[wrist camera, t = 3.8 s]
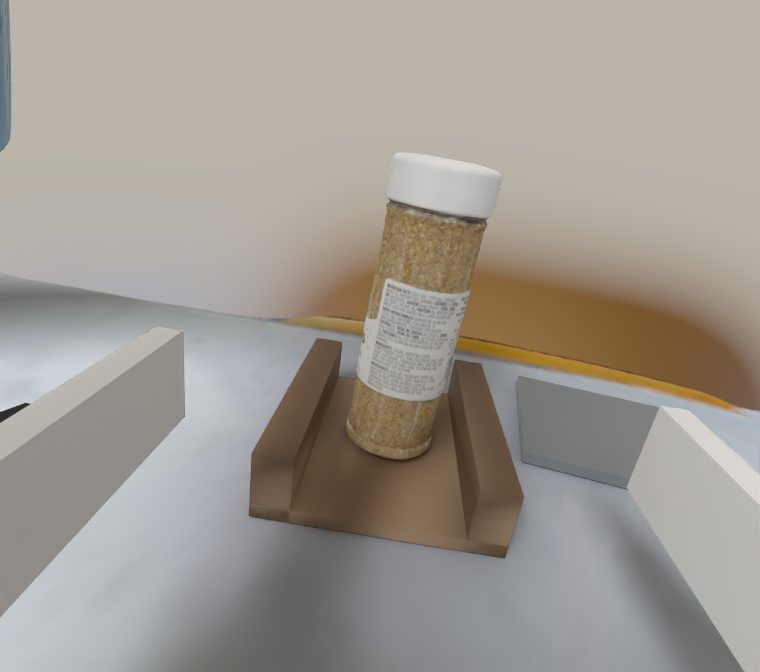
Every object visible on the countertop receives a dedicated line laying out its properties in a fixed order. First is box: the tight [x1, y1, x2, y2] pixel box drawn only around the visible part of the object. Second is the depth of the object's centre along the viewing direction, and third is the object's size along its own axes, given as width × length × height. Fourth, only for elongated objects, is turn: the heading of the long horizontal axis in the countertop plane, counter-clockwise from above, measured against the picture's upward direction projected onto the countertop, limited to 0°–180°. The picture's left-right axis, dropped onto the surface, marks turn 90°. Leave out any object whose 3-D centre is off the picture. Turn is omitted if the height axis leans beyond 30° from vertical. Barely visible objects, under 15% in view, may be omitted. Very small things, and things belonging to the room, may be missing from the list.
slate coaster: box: [517, 376, 659, 489], centre depth 28 cm, size 10×10×1 cm
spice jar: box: [346, 152, 502, 460], centre depth 21 cm, size 5×5×13 cm
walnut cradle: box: [249, 338, 524, 558], centre depth 23 cm, size 10×12×3 cm
